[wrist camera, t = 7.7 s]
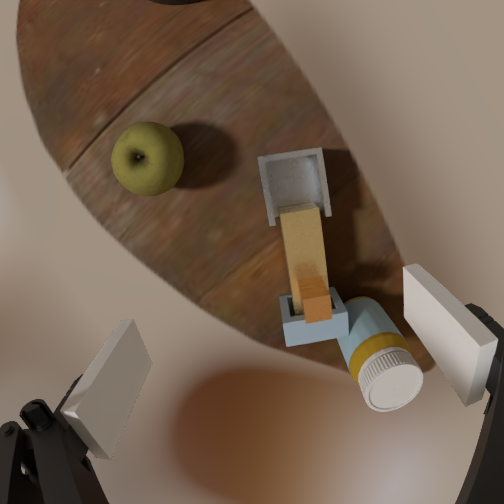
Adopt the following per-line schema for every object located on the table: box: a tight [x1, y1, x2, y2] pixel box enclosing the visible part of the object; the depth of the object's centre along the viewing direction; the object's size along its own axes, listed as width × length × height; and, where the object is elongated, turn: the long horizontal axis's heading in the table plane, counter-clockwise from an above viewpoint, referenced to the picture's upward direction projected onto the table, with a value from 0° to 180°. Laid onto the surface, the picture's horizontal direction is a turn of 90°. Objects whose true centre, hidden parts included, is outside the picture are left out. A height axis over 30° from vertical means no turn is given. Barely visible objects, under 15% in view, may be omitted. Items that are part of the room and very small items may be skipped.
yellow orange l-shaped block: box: [278, 202, 332, 324], centre depth 33 cm, size 13×4×9 cm, turn 10°
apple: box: [111, 122, 184, 196], centre depth 32 cm, size 8×8×7 cm
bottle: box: [337, 296, 423, 412], centre depth 34 cm, size 7×7×15 cm
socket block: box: [279, 287, 349, 347], centre depth 37 cm, size 3×7×7 cm, turn 101°
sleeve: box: [257, 147, 332, 226], centre depth 34 cm, size 7×6×5 cm
